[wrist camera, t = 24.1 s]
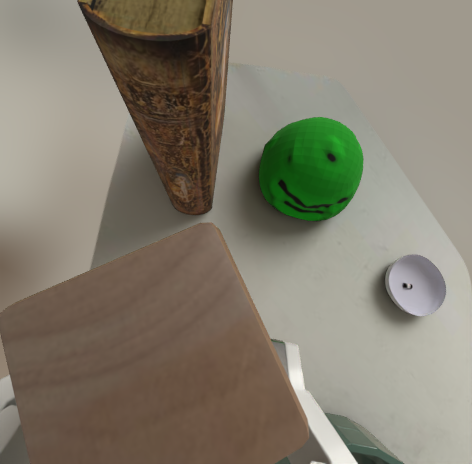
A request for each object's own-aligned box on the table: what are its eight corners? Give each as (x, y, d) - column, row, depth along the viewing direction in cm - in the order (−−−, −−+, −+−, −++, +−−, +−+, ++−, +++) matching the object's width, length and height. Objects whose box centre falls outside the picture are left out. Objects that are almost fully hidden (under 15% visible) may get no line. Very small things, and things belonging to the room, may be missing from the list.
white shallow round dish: (434, 318, 35) (447, 320, 33) (379, 309, 34) (388, 311, 32) (432, 261, 36) (444, 259, 35) (380, 251, 36) (389, 249, 34)
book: (210, 217, 35) (207, 50, 10) (170, 212, 34) (69, 26, 10) (224, 114, 38) (246, -188, 14) (188, 108, 38) (146, -212, 14)
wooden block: (225, 280, 18) (213, 212, 4) (245, 323, 18) (322, 447, 3) (138, 320, 17) (-311, 437, 3) (155, 368, 17) (-329, 835, 2)
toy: (247, 208, 35) (260, 178, 26) (267, 128, 38) (286, 75, 29) (338, 233, 36) (385, 213, 26) (351, 152, 39) (397, 107, 29)
